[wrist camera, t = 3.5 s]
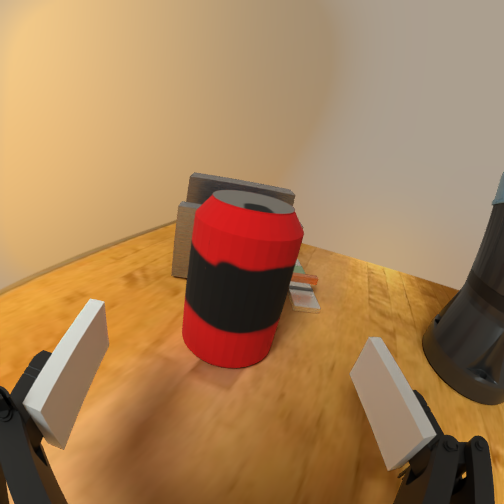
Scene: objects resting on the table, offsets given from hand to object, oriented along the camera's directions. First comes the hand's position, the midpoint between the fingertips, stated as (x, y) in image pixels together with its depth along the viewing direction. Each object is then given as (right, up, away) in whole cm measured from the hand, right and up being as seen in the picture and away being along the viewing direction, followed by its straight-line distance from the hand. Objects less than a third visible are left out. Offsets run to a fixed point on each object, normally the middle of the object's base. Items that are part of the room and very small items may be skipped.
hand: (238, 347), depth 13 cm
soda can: (-2, -3, +11) cm, 11 cm away
